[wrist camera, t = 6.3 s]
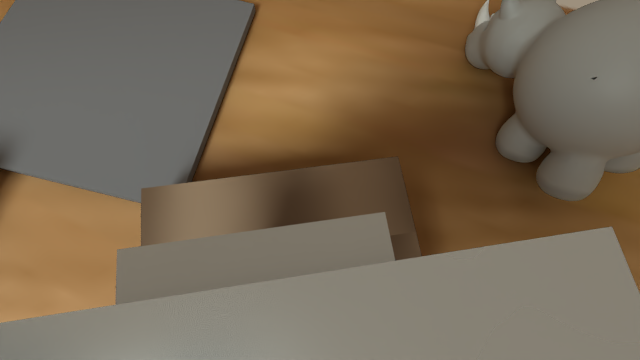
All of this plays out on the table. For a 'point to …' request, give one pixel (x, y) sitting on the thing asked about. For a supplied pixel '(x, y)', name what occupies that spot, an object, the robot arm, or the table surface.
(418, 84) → the table surface
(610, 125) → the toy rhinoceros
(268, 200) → the block
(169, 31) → the mat
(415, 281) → the t key
